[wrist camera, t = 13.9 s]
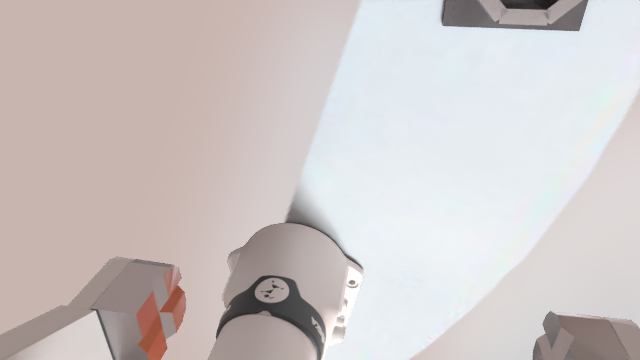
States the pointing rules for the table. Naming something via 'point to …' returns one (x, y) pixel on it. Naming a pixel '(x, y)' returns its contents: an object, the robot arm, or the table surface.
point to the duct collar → (516, 14)
